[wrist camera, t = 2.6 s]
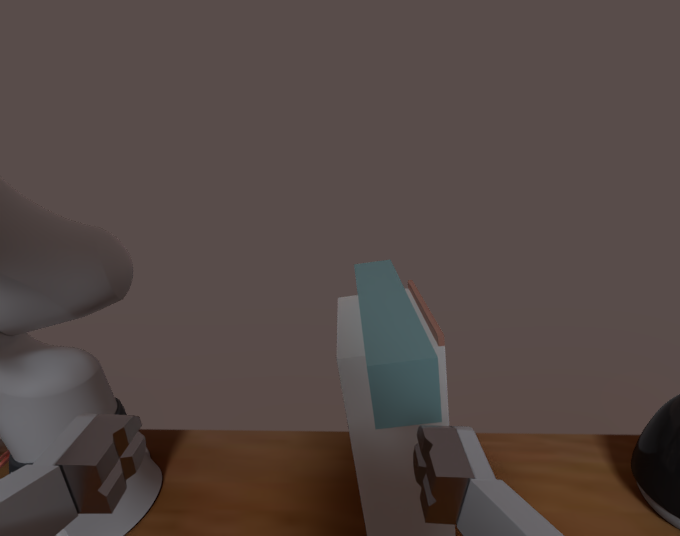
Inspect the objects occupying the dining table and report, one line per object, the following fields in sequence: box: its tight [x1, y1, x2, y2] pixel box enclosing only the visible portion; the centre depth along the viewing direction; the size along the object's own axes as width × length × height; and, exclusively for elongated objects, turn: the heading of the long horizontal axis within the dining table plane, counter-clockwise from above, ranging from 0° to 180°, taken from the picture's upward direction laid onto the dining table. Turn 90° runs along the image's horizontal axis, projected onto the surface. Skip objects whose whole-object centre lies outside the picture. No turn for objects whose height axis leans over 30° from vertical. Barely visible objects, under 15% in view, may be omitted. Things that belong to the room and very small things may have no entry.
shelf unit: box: [337, 280, 455, 536], centre depth 38 cm, size 9×13×27 cm
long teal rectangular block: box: [354, 260, 442, 429], centre depth 28 cm, size 4×19×4 cm, turn 0°
